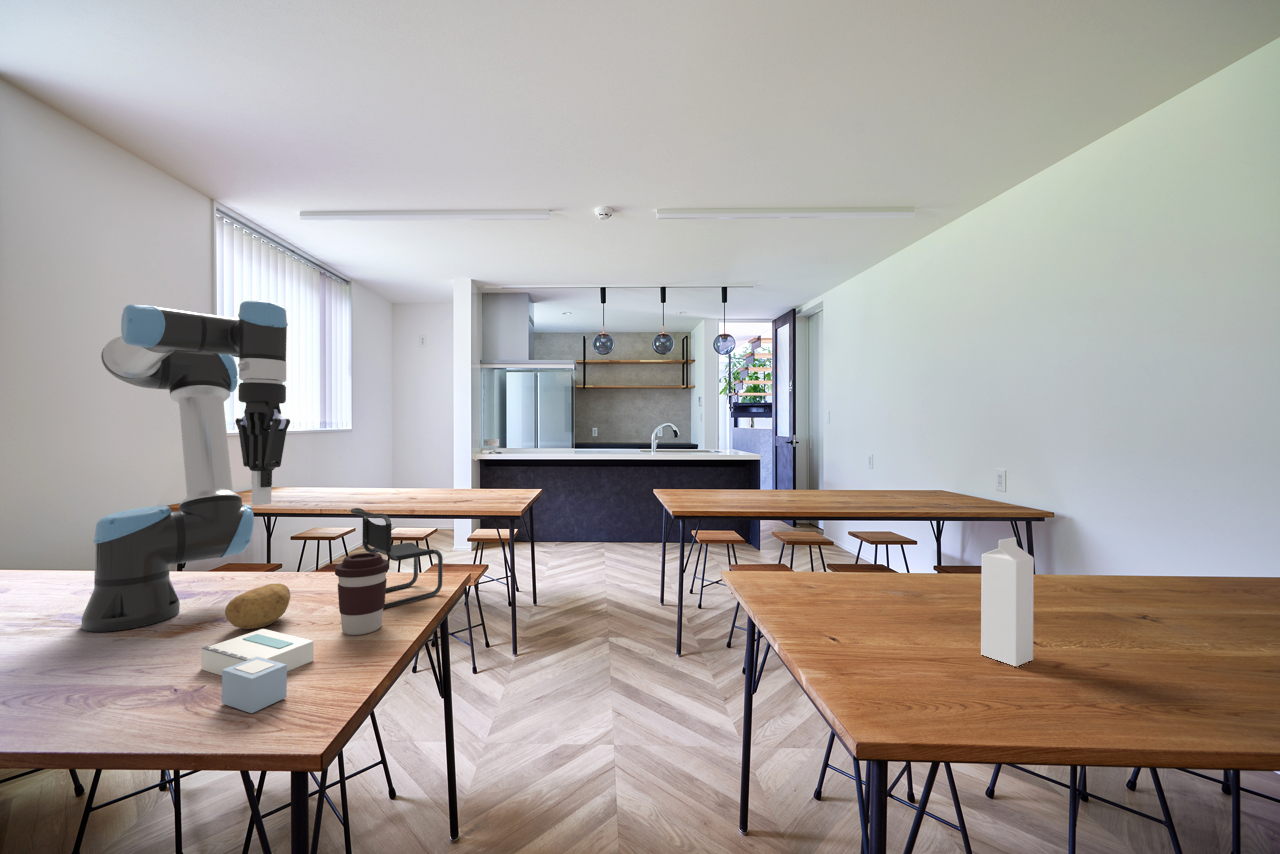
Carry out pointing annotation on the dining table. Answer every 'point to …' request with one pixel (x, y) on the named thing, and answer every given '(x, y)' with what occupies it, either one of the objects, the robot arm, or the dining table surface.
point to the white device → (258, 650)
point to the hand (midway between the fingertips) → (261, 504)
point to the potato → (258, 606)
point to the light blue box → (254, 684)
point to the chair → (395, 552)
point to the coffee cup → (361, 592)
